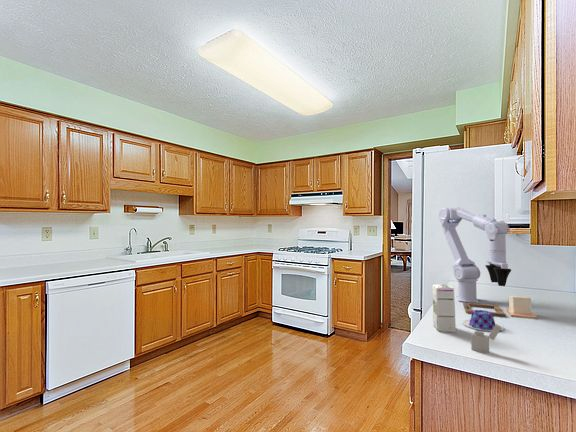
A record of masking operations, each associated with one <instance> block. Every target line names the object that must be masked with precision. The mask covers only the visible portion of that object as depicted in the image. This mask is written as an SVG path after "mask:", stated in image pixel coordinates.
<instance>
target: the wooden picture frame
mask: <svg viewBox="0 0 576 432" xmlns="http://www.w3.org/2000/svg"><path fill="white" fill-rule="evenodd" d="M462 306H463V309H464V311H465V314H467V313H468V314H470V315H472V312H473V311H474V309H473V310H472V307H473V308H484V309H493V310H494V311H490V312H491V313H492V315H493V317H496V318H497V317H499V318H500V317H501V318H506V317H507V314H506V313H505V312H504V310H503V309H502V308H501V307H500V305H497V304H488V303H487V304H485V303H473V302H462ZM468 314H467V315H468Z"/></svg>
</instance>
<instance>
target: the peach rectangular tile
mask: <svg viewBox="0 0 576 432" xmlns="http://www.w3.org/2000/svg"><path fill="white" fill-rule="evenodd" d="M504 309H505V311H506V312H507V313H508V315H509V316H510V317H514V318H523V319H535V320H538V316H536V315H535V314H534V313H533V312H532V311H531V314H518V313H512V312H510V311H509V307H508V308H507V307H506V308H504Z"/></svg>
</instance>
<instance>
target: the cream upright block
mask: <svg viewBox="0 0 576 432" xmlns="http://www.w3.org/2000/svg"><path fill="white" fill-rule="evenodd" d="M531 299H532V298H531V297H529V296H526V295H525V296H524V295H508V300H509V301H508V302H509V303H508V305H509V307H508V308H509V311H510V312H512V313H518V314H531V312H532V304H531V301H532V300H531Z"/></svg>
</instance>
